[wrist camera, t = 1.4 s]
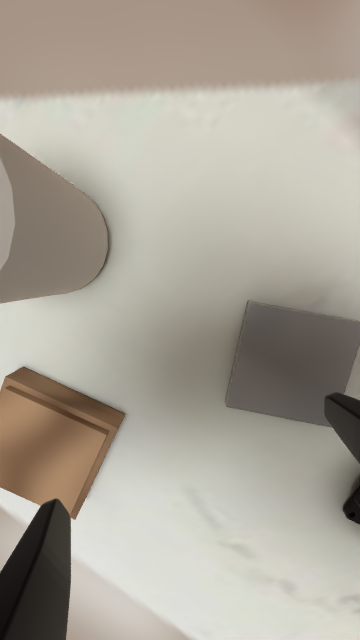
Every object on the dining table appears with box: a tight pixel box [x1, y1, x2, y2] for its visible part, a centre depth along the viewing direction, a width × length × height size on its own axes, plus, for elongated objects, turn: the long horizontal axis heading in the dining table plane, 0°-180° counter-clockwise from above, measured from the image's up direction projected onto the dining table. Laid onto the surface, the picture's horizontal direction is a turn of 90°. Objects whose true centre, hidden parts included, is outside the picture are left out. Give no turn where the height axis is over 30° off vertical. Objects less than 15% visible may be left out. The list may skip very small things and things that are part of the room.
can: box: [0, 134, 108, 303], centre depth 13 cm, size 8×8×12 cm
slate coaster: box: [225, 301, 360, 427], centre depth 19 cm, size 8×8×1 cm
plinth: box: [0, 367, 125, 519], centre depth 21 cm, size 9×9×2 cm
